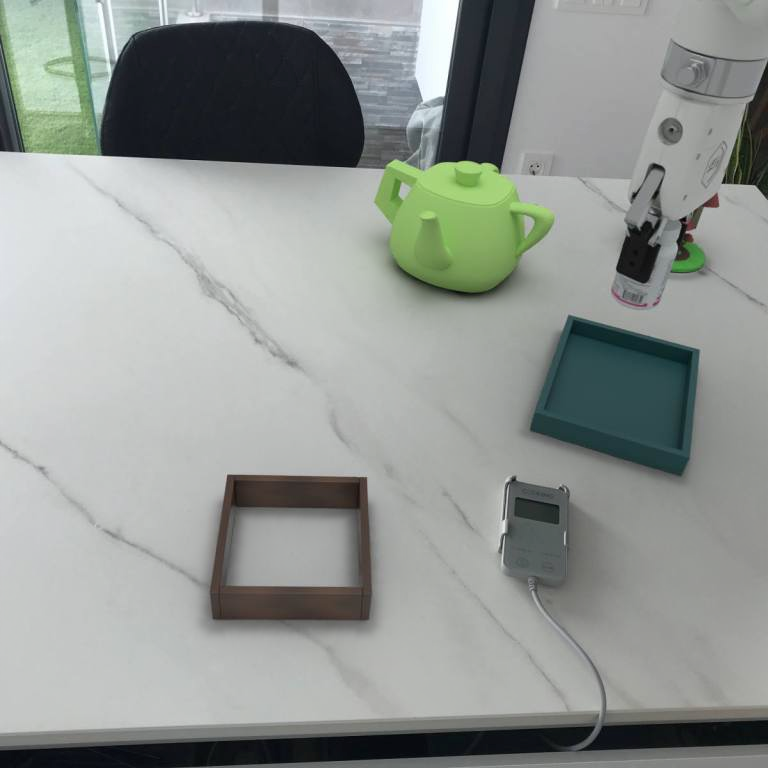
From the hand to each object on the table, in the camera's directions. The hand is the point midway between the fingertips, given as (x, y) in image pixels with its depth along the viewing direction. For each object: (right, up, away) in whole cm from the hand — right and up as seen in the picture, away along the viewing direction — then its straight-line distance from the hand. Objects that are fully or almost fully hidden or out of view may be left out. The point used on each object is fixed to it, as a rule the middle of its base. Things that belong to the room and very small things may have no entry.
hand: (645, 264), depth 74 cm
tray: (+1, -13, +13) cm, 18 cm away
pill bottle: (0, -3, +3) cm, 4 cm away
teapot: (-16, +4, +31) cm, 35 cm away
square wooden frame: (-32, -26, -7) cm, 42 cm away
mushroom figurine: (+17, +8, +40) cm, 44 cm away
